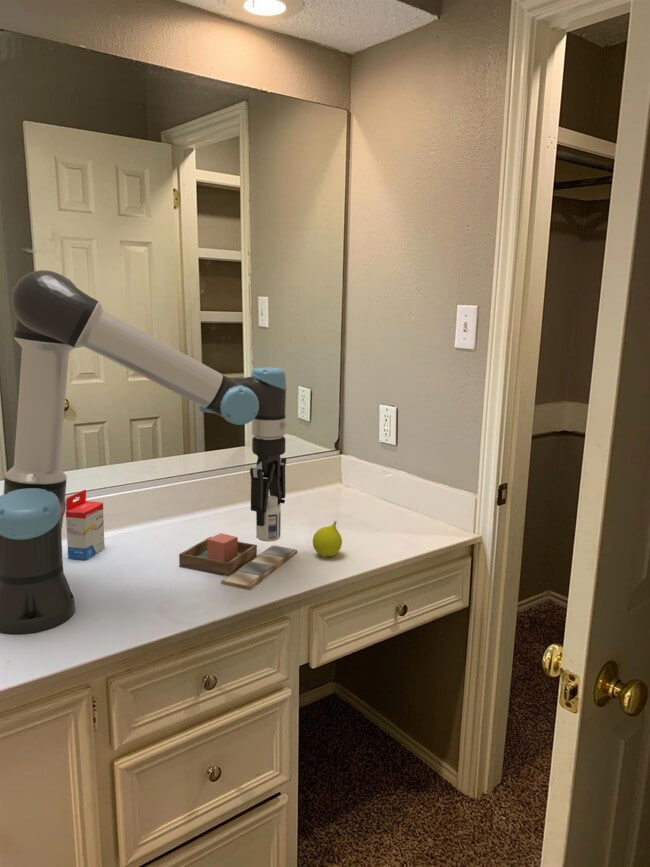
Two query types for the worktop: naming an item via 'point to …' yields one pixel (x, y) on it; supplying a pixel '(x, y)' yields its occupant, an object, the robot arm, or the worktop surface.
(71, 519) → the ink box
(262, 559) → the board
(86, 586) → the worktop surface
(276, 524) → the pill bottle
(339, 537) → the green gourd
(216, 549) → the salmon red cube
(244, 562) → the dice tray
